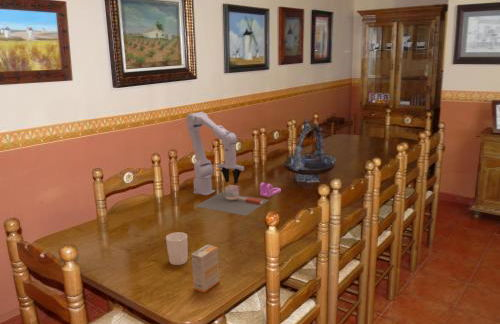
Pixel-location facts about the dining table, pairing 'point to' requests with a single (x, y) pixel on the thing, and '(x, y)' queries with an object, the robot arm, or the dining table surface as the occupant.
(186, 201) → the dining table surface
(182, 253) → the white cup
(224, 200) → the mat
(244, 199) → the ratchet
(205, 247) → the supplement box
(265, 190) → the bracket
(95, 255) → the dining table surface
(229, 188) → the pale pink cube
